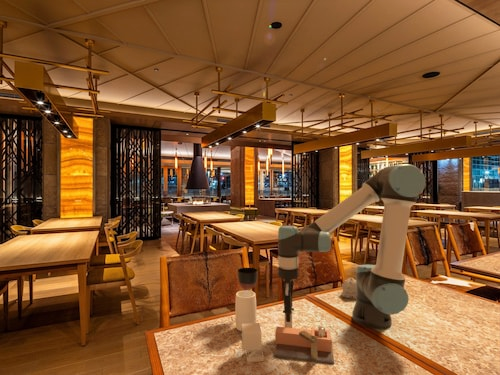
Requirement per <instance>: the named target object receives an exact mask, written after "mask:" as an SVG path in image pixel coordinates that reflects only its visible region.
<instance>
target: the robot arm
mask: <svg viewBox="0 0 500 375" xmlns="http://www.w3.org/2000/svg"><path fill="white" fill-rule="evenodd" d="M425 188H426V176H425V175H424V173H423V171H422V170H421V169H420V168H418V167H417V166H415V165H413V164H407V163H405V164H404V163H402V164H401V163H400V164H397V165H393V166H386V167H384V168H382V169H381V170H379V171H378V172H376V173H375V174H373V175H372V176H371V177H370V178H368V179H367V180H366V181H364V182H362V185H361V188H359V189H357V190H356V191H355V192H353V193H352V194H350V195H349V196H348V197H346V198H345V199H344V200H342V201H341V202H339V203H338V204H336V205H335V206H333V207H332V208H331V209H329V210H328V211H327V212H326V213H324V214H323V215H321V216H320V217H319V218H316V220H314V222H311V223H310V224H309V225H305V226H303V227H302V228H301V229H300V230H299V228H298V227H297V226H294V225H281V226H279V227H278V231H277V232H278V233H277V234H278V235H277V247H278V249H277V251H278V253H277V254H278V256H277V257H276V260H277V261H278V267H277V270H278V271H277V272H278V274H277V275H278V277H279V278H280V279H282V280H283V282H282V290H283V310H282V313H283V314H284V327H286V328H293V312H294V311H295V308H293V305H294V304H293V293H294V286H295V285H294V284H295V283H294V280H296V279H298V278H299V268H298V267H299V252H301V253H302V252H303V253H305V252H307V253H309V252H312V253H313V252H314V253H325V252H329V251H331V249H332V248H331V246H332V240H331V239H332V238H331V235H330V233H332V232H333V231H335V230H336V229H337V228H339V227H340V226H342V225H343V224H344V223H346V222H347V221H349V220H350V219H351V218H353V217H355V215H357V214H359V213H360V212H361V211H363V210H365V209H366V208H367V207H368V206H370V205H371V204H372V203H375V202H377V203H378V202H380V201H382V202H383V204H384V207H383V214H382V219H381V227H380V235H379V242H378V248H377V249H378V250H377V256H376V263H375V264H359V265H357V266H356V272H355V275H356V276H355V280H356V291H357V299H355V304H354V306H353V310H352V316H351V317H352V320H353V322H355V323H356V324H358V325H360V326H362V327H365V328H369V329H373V330H383V329H388V328H390V327H392V325H393V324H392V323H393V322H392V321H393V319H392V316H391V315H397V314H398V315H399V313H401V312H403V311H404V310H405V309H406V307H407V306H408V304H409V300H410V299H409V295H408V292H407V290H406V288H405V283H406V276H405V275H404V274H403V272H402V270H403V263H404V256H405V249H406V243H407V241H406V240H407V234H408V229H409V221H410V215H411V208H412V207H413V206H414V205H416V204H417V199H418V195H420V194H421V193H422V192H423V191H424V189H425Z"/></svg>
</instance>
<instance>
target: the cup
mask: <svg viewBox="0 0 500 375" xmlns="http://www.w3.org/2000/svg"><path fill="white" fill-rule="evenodd" d="M234 303H235V309H234V310H235V311H234V312H235V315H234V316H235V328H236V329H237V330H238V331H240V332H241V324H248V323H257V298H256V292H254V291H253V290H249V291H248V290H246V289H244V290H239V291H237V292H236V293H235V302H234Z"/></svg>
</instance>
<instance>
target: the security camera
mask: <svg viewBox="0 0 500 375" xmlns="http://www.w3.org/2000/svg"><path fill="white" fill-rule="evenodd" d="M240 332H241V334H240V335H241V337H240V338H241V339H240V340H241V349H242V352H245V354H246V355H245V356H246V362H248V363H251V362H264V360H265V356H264V353H263V352H264V351H263V348H262V328H261V324H260V322H256V323H248V324H241V331H240Z"/></svg>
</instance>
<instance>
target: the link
mask: <svg viewBox="0 0 500 375" xmlns="http://www.w3.org/2000/svg"><path fill="white" fill-rule="evenodd" d="M303 330H304V331H306V332H307V333H309V334H311V335H313V336H317V338H318V342H317V350H318V351H326V352H331V340H332V335H331V330H330V329H325V338H324V337H318V328H311V329H305V328H297V327H296V328H295V327H292V328H286V327H285V326H284V327H283V326H276V328H275V332H274V333H275V335H274V337H275V338H274V339H275V341H274V342H275V343H274V344H285V345H294V346H302V347H311V342H310V341H308V340H306V339H304V338H303V337H301V336H299V332H301V331H303Z"/></svg>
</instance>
